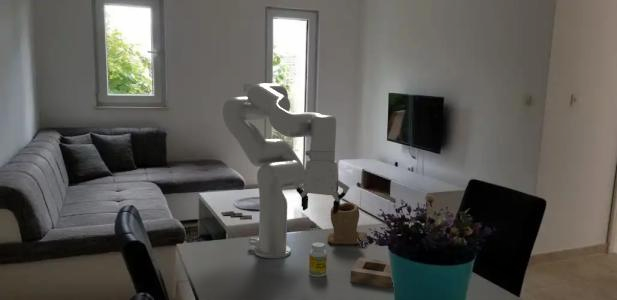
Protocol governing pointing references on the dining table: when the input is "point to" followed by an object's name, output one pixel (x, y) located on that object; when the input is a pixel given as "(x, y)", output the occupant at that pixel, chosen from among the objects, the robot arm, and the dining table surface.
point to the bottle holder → (372, 272)
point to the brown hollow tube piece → (346, 225)
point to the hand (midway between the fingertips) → (320, 211)
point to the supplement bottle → (317, 260)
